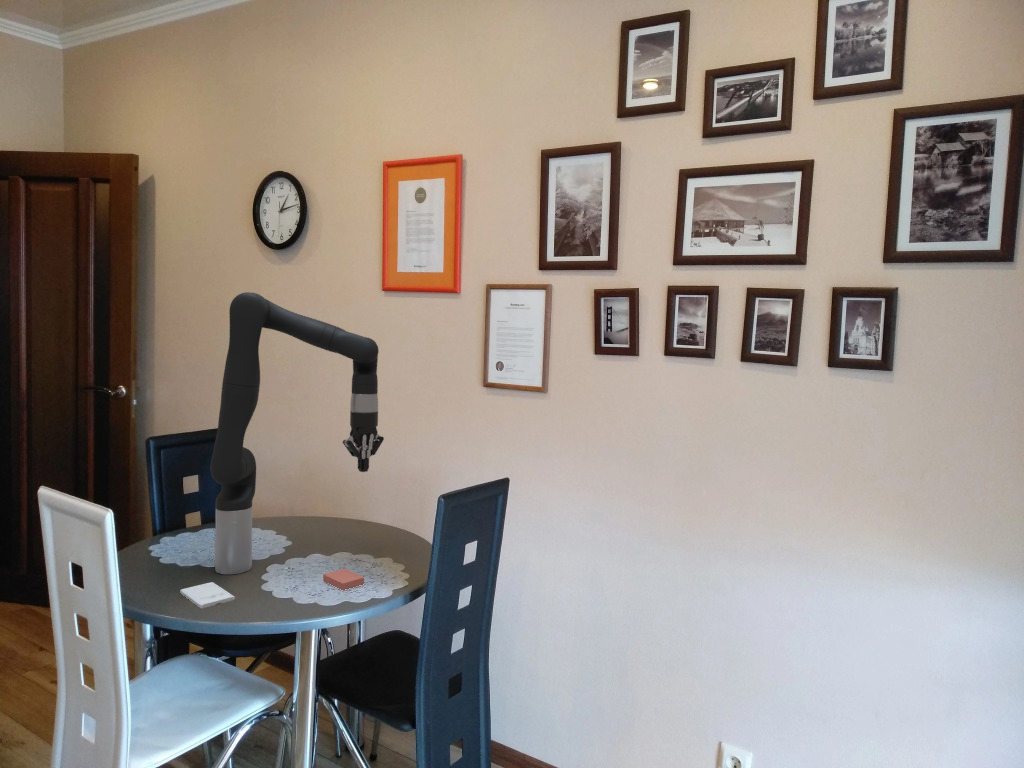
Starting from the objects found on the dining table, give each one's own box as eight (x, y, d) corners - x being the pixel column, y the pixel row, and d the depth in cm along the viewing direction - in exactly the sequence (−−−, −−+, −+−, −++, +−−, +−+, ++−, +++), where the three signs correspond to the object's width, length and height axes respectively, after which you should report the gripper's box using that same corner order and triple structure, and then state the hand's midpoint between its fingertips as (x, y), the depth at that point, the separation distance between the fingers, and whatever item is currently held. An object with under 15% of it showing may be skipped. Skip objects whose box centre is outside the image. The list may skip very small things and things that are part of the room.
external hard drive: (213, 587, 175) (235, 602, 167) (179, 596, 169) (200, 611, 161) (213, 581, 175) (235, 595, 167) (179, 589, 169) (201, 604, 161)
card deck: (344, 577, 185) (323, 583, 180) (344, 568, 185) (323, 574, 180) (364, 586, 179) (342, 592, 174) (364, 577, 179) (342, 583, 174)
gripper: (374, 406, 197) (373, 466, 198) (336, 409, 187) (335, 472, 188) (391, 409, 192) (390, 470, 194) (353, 412, 182) (352, 477, 183)
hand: (363, 471), depth 191 cm, fingers closed
